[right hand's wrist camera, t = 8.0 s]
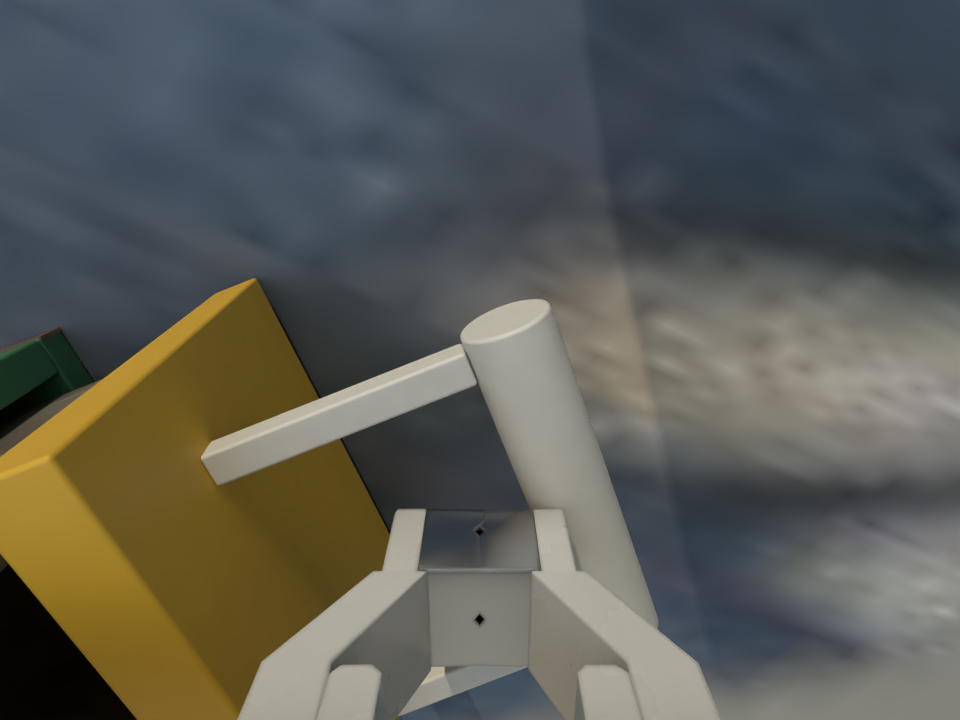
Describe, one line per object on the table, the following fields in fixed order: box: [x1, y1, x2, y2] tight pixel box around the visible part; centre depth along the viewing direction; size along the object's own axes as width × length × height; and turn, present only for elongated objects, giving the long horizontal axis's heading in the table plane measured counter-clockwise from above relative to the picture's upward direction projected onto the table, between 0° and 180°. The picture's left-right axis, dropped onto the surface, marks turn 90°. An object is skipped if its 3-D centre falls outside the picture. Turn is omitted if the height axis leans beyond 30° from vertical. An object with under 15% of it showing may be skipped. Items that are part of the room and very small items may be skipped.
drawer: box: [0, 278, 658, 720], centre depth 13 cm, size 20×10×10 cm, turn 110°
